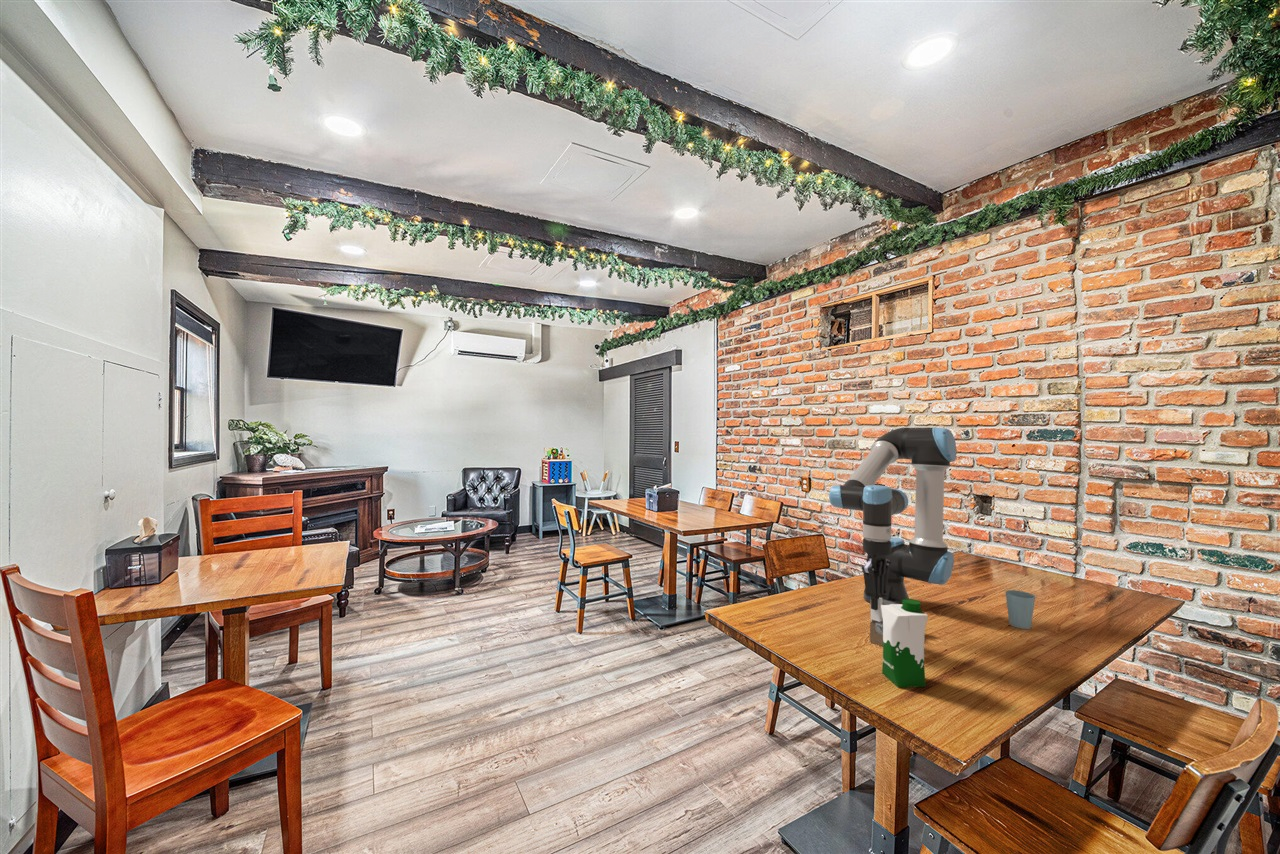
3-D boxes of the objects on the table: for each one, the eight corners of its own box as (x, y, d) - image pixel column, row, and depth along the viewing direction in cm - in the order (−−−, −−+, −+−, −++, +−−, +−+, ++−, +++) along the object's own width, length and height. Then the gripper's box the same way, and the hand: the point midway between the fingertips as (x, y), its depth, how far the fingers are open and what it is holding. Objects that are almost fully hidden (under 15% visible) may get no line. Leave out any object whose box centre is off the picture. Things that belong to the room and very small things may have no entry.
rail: (897, 652, 137) (897, 629, 137) (863, 640, 145) (863, 617, 145) (925, 636, 148) (925, 614, 148) (892, 625, 156) (892, 605, 156)
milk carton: (931, 688, 118) (932, 607, 118) (896, 690, 117) (897, 608, 117) (908, 670, 127) (909, 595, 127) (876, 671, 126) (876, 595, 126)
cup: (1040, 628, 155) (1040, 596, 155) (1026, 632, 152) (1026, 599, 152) (1014, 619, 162) (1014, 588, 162) (1000, 623, 159) (1000, 591, 159)
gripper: (878, 544, 133) (878, 629, 133) (900, 538, 141) (900, 618, 141) (852, 539, 139) (852, 620, 139) (875, 533, 147) (874, 610, 147)
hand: (876, 619), depth 140 cm, fingers closed
